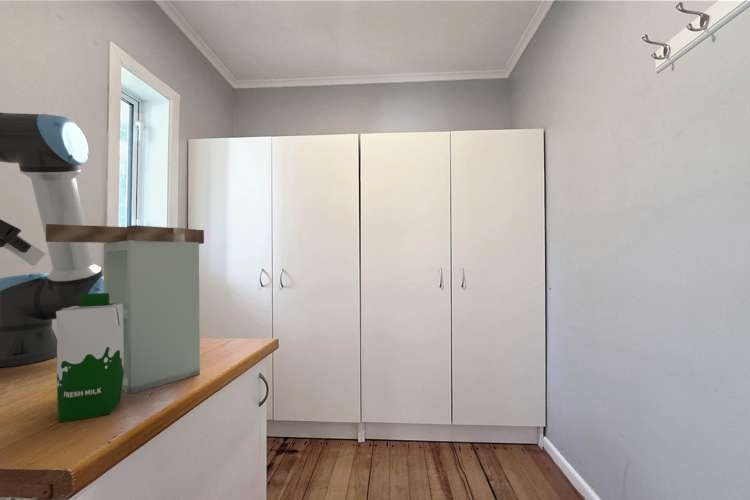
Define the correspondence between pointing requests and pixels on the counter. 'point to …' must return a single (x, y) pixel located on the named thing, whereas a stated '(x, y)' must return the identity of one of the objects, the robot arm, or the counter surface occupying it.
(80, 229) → the plain slat
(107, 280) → the shelf unit
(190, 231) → the banded slat
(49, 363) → the counter surface
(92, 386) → the milk carton
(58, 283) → the robot arm
